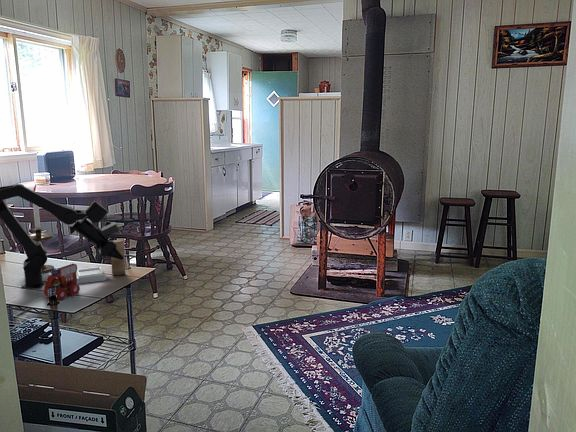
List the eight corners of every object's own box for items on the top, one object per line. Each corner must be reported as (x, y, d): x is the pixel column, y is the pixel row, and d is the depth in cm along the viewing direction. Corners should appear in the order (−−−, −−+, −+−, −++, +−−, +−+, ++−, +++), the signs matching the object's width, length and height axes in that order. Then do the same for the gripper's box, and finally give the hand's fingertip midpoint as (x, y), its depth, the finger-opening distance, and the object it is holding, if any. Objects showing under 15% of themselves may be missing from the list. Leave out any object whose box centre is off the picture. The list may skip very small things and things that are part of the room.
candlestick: (62, 266, 193) (55, 182, 186) (46, 274, 182) (38, 185, 176) (37, 265, 194) (29, 182, 187) (20, 273, 183) (11, 185, 177)
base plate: (77, 283, 173) (76, 276, 173) (75, 276, 182) (74, 269, 181) (105, 280, 178) (105, 273, 177) (102, 272, 186) (101, 266, 186)
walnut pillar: (123, 275, 182) (122, 243, 180) (110, 275, 182) (108, 243, 180) (126, 271, 187) (125, 240, 185) (114, 271, 187) (112, 239, 184)
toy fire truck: (39, 299, 157) (36, 270, 155) (70, 288, 168) (68, 261, 166) (52, 303, 154) (50, 273, 152) (84, 292, 165) (82, 264, 163)
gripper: (108, 220, 170) (140, 247, 178) (101, 212, 186) (131, 236, 194) (86, 243, 168) (120, 269, 175) (81, 233, 184) (112, 256, 192)
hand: (121, 256), depth 184 cm, fingers closed on walnut pillar, 5 cm apart
